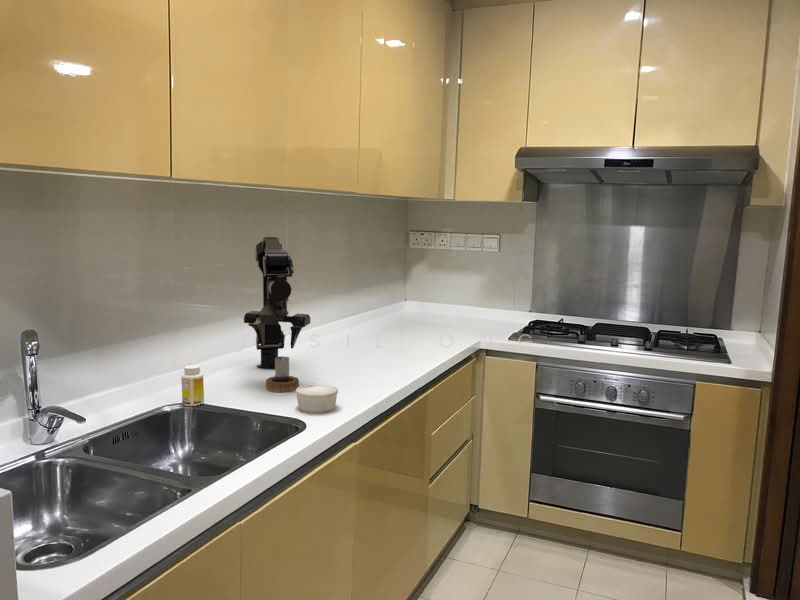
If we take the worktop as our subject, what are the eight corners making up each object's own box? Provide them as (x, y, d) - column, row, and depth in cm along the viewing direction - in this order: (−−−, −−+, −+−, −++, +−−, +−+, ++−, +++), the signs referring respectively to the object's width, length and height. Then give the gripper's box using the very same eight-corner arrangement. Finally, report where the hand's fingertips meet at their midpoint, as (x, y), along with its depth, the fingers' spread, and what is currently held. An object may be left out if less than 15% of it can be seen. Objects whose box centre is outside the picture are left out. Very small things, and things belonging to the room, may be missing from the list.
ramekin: (317, 399, 183) (317, 381, 182) (346, 407, 176) (347, 388, 175) (286, 408, 174) (286, 389, 173) (316, 417, 167) (316, 397, 166)
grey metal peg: (278, 385, 196) (278, 356, 195) (291, 386, 195) (291, 357, 194) (273, 389, 192) (272, 359, 191) (286, 390, 191) (286, 359, 190)
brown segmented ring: (273, 382, 199) (273, 374, 199) (302, 385, 197) (302, 376, 197) (261, 390, 190) (261, 382, 190) (291, 393, 188) (291, 384, 188)
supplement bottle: (205, 400, 180) (204, 364, 178) (201, 406, 174) (200, 369, 173) (184, 401, 179) (183, 364, 178) (180, 407, 174) (178, 369, 172)
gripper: (235, 297, 186) (235, 351, 189) (298, 300, 183) (298, 355, 185) (251, 292, 197) (252, 343, 200) (311, 295, 194) (310, 347, 196)
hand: (277, 347), depth 195 cm, fingers open, 9 cm apart
